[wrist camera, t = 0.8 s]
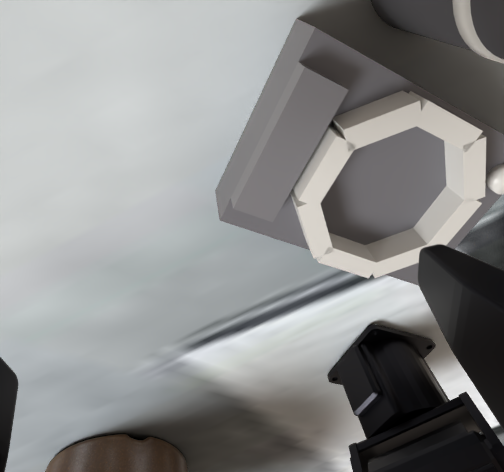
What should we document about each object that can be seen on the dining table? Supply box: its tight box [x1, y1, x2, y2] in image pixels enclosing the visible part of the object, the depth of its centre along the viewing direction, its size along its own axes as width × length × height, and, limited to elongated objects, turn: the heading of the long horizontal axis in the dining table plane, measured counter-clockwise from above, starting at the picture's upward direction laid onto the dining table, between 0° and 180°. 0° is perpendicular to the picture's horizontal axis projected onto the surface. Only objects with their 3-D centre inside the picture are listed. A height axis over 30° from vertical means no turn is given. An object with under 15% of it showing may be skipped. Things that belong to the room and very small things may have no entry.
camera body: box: [216, 19, 504, 285], centre depth 20 cm, size 13×9×4 cm
